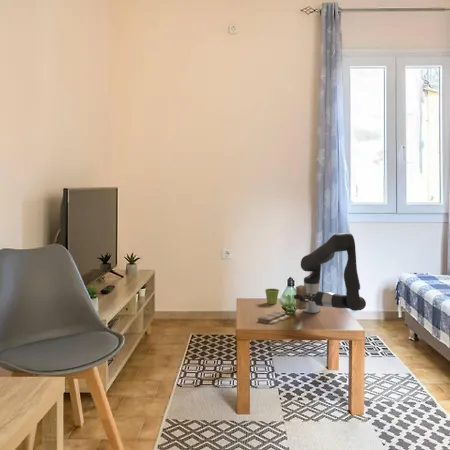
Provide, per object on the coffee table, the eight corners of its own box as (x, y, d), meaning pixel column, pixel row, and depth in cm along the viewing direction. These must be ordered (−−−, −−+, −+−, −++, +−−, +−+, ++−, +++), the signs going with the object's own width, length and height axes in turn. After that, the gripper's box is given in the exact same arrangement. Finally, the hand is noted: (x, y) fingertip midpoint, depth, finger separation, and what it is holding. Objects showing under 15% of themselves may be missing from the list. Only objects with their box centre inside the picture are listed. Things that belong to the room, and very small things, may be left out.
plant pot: (282, 303, 304) (282, 289, 303) (272, 305, 297) (272, 292, 297) (271, 301, 311) (271, 287, 310) (261, 303, 304) (261, 290, 303)
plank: (306, 308, 254) (306, 285, 254) (301, 309, 250) (301, 287, 250) (300, 307, 257) (300, 285, 256) (296, 308, 252) (296, 286, 252)
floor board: (275, 314, 274) (275, 311, 274) (289, 317, 269) (289, 313, 269) (257, 321, 260) (257, 317, 260) (272, 324, 254) (272, 320, 254)
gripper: (331, 290, 250) (303, 286, 260) (319, 294, 238) (290, 290, 249) (331, 304, 250) (303, 300, 261) (319, 309, 239) (290, 304, 249)
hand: (296, 295), depth 255 cm, fingers closed on plank, 5 cm apart
